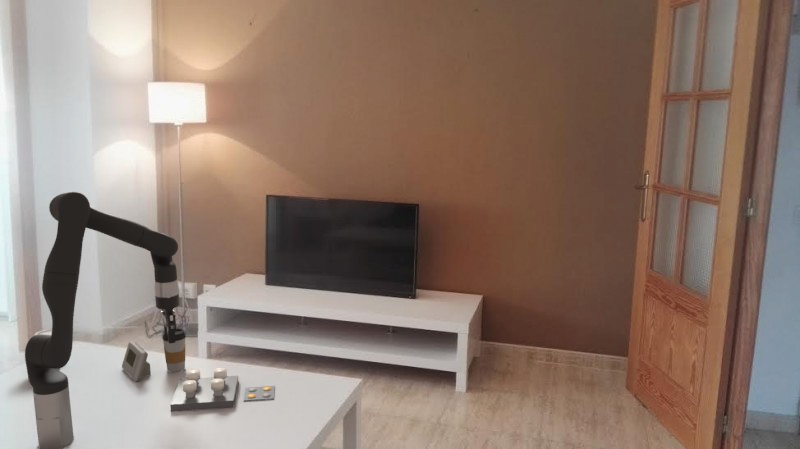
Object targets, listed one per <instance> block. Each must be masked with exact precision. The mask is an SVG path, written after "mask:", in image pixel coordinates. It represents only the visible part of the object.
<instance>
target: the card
mask: <svg viewBox="0 0 800 449" xmlns="http://www.w3.org/2000/svg"><path fill="white" fill-rule="evenodd" d="M274 399H275V385H269V386H267V385H266V386H249V387H245V390H244V396H243V402H255V401H268V400H269V401H270V400H271V401H272V400H273V401H274Z"/></svg>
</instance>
